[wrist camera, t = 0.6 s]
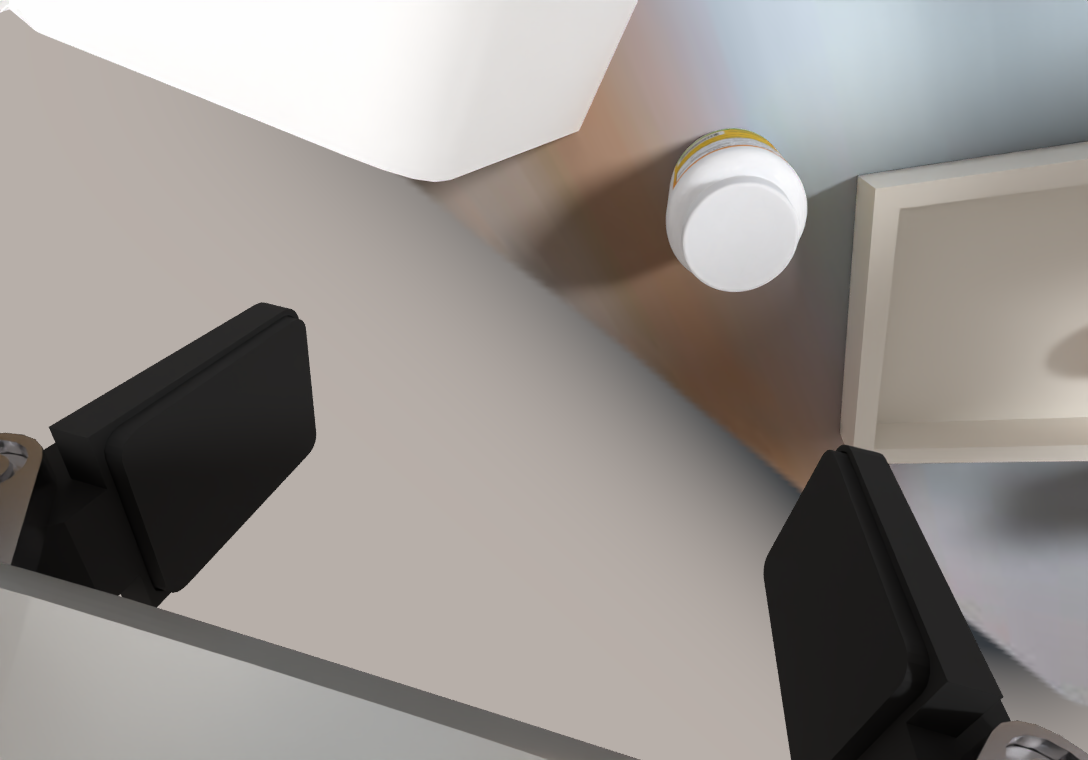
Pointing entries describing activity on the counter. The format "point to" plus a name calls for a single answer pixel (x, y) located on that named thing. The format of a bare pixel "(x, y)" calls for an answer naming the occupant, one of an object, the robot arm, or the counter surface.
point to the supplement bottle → (734, 210)
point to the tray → (971, 311)
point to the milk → (367, 67)
